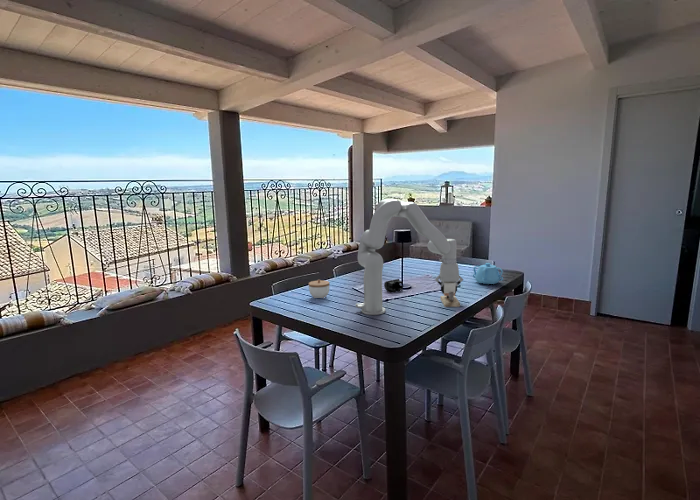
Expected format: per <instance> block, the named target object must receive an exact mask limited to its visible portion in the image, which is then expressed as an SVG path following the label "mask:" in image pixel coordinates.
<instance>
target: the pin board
mask: <svg viewBox="0 0 700 500" xmlns="http://www.w3.org/2000/svg"><path fill="white" fill-rule="evenodd" d="M440 301H441V304H442V305H443V306H444V308H445V307H446V308H448V307H449V308H451V307H457V308H459V307H461V302H460V301H459V299H458V298H457V296H456V295H455V296H454V292H449V296H444V295H440Z"/></svg>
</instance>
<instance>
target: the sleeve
mask: <svg viewBox="0 0 700 500" xmlns="http://www.w3.org/2000/svg"><path fill="white" fill-rule="evenodd" d="M455 289H456V283H454V282H444V293H442V295H443V296H449V292H454V296H455V297H456V293H455Z"/></svg>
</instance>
